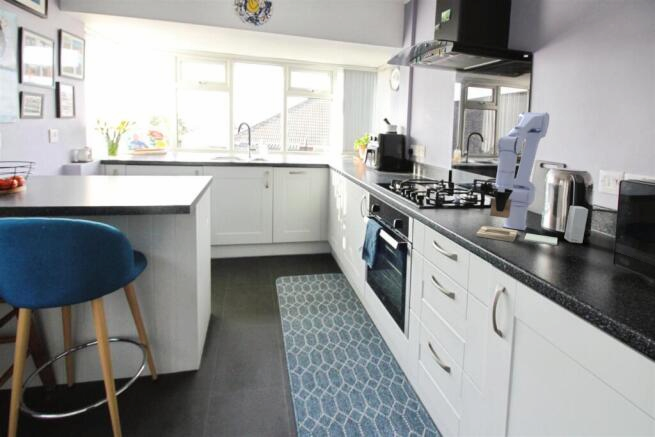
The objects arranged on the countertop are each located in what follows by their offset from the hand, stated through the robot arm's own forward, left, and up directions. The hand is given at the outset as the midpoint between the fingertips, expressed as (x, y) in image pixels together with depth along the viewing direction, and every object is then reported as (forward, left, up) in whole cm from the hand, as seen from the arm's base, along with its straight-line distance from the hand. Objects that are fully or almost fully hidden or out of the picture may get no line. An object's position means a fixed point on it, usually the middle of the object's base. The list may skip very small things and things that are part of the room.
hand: (500, 210), depth 155 cm
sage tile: (-3, +14, -9) cm, 17 cm away
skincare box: (-10, +24, -9) cm, 28 cm away
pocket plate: (0, 0, -9) cm, 9 cm away
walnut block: (0, 0, -2) cm, 2 cm away
